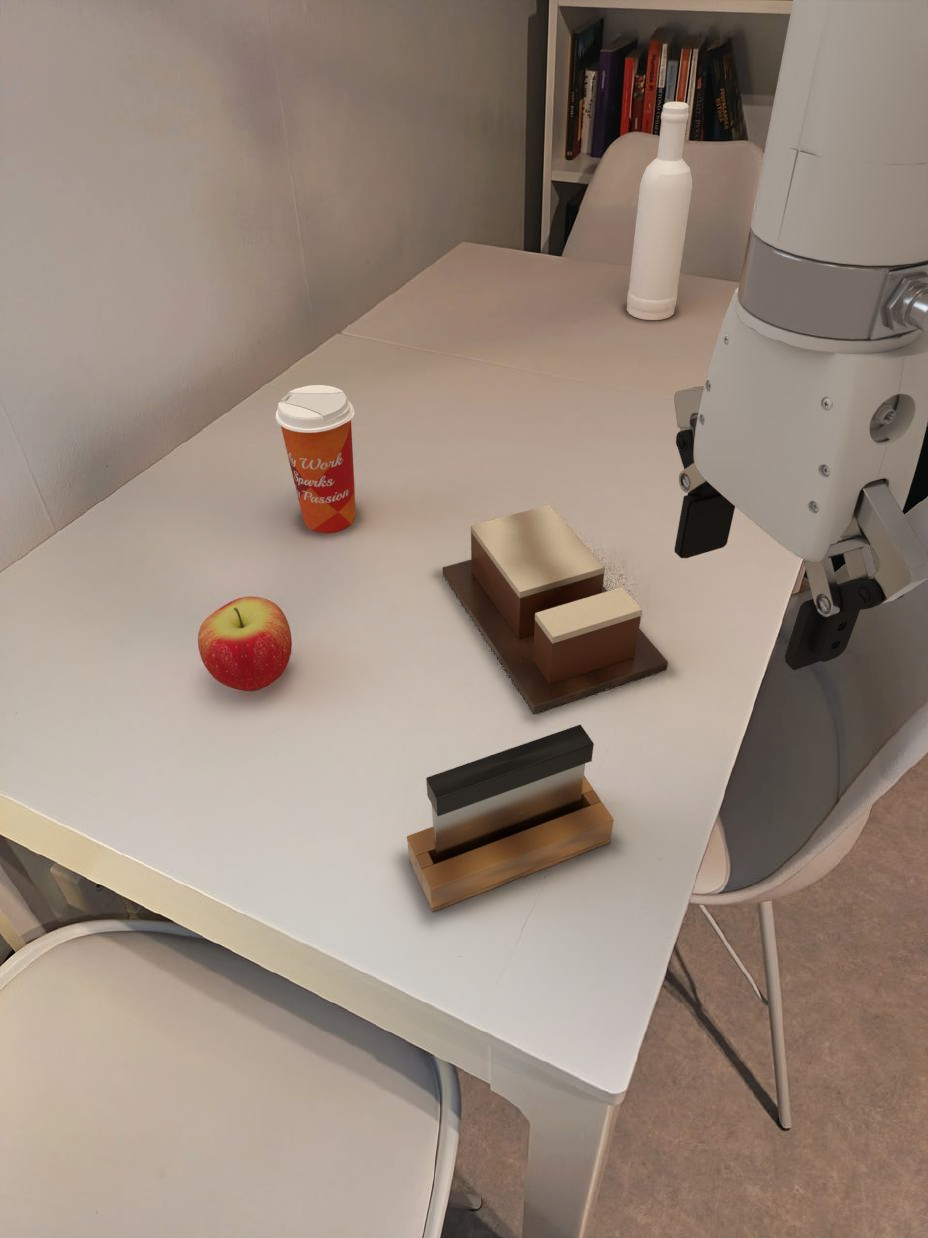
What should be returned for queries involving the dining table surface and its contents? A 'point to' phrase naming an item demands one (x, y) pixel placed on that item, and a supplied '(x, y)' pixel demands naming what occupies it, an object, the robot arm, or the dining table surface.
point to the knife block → (509, 853)
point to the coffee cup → (320, 454)
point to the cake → (536, 600)
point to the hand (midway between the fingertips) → (752, 600)
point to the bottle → (661, 222)
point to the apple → (246, 643)
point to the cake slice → (586, 635)
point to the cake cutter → (508, 792)
